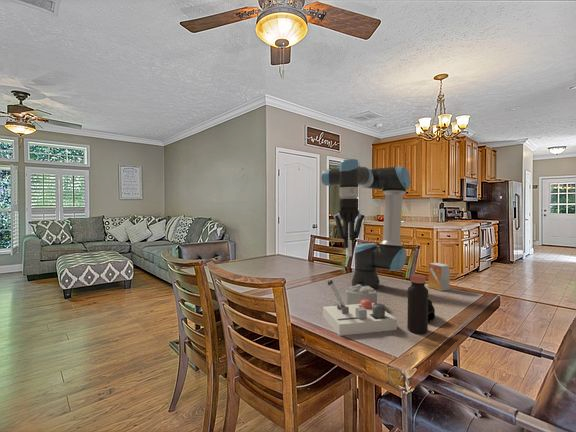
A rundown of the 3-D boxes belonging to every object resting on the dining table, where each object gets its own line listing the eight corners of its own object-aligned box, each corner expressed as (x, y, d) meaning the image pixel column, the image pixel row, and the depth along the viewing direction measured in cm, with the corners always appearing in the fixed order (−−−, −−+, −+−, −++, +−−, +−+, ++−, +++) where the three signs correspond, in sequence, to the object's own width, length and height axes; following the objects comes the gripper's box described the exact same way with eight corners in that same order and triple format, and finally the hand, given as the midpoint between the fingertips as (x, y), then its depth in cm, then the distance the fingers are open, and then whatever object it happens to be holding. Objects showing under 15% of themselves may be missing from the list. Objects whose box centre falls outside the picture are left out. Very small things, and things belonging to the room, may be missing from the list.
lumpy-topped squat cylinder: (378, 309, 131) (379, 289, 130) (349, 310, 130) (349, 290, 130) (371, 301, 141) (371, 283, 141) (343, 302, 141) (343, 283, 140)
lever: (344, 305, 120) (330, 278, 119) (347, 308, 117) (333, 280, 115) (339, 308, 120) (325, 280, 118) (342, 311, 117) (328, 283, 115)
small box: (428, 287, 164) (428, 263, 163) (436, 285, 166) (437, 262, 166) (440, 291, 156) (441, 266, 156) (449, 289, 159) (450, 265, 158)
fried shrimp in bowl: (419, 313, 113) (393, 286, 130) (423, 334, 118) (397, 305, 134) (441, 304, 114) (412, 277, 130) (444, 324, 119) (416, 296, 135)
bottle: (431, 334, 107) (432, 277, 106) (412, 335, 106) (413, 278, 105) (421, 326, 113) (422, 273, 112) (403, 326, 113) (404, 273, 112)
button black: (381, 317, 116) (381, 303, 115) (387, 321, 111) (387, 307, 111) (370, 318, 115) (370, 304, 114) (376, 322, 110) (376, 308, 110)
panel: (373, 312, 128) (373, 297, 128) (396, 329, 110) (396, 312, 110) (323, 316, 123) (323, 301, 123) (339, 335, 106) (339, 317, 105)
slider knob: (363, 315, 113) (363, 307, 113) (366, 318, 110) (366, 310, 110) (355, 315, 113) (355, 307, 113) (359, 318, 110) (359, 310, 110)
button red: (368, 312, 125) (369, 298, 125) (374, 315, 121) (374, 302, 121) (359, 312, 125) (359, 299, 124) (363, 316, 120) (363, 303, 120)
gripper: (337, 198, 118) (336, 258, 119) (368, 197, 121) (367, 256, 122) (330, 198, 126) (330, 254, 127) (359, 198, 128) (359, 253, 129)
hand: (348, 255), depth 124 cm, fingers closed
